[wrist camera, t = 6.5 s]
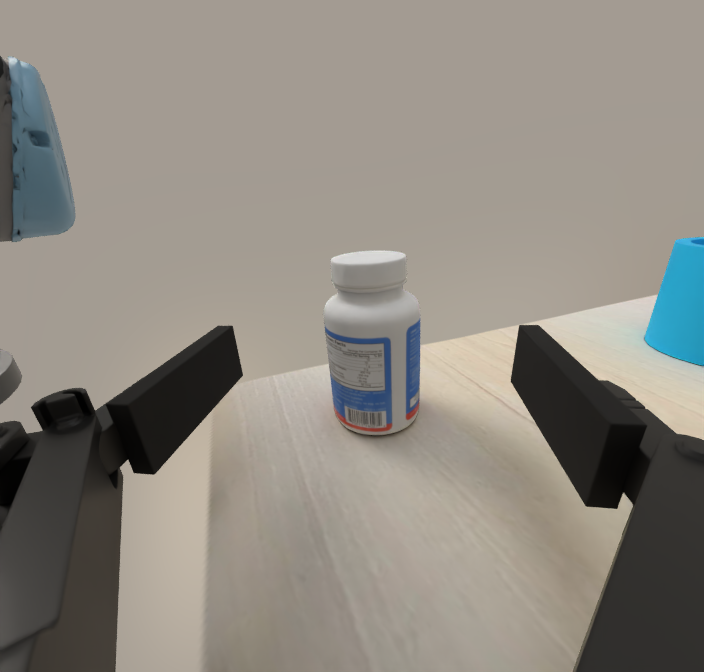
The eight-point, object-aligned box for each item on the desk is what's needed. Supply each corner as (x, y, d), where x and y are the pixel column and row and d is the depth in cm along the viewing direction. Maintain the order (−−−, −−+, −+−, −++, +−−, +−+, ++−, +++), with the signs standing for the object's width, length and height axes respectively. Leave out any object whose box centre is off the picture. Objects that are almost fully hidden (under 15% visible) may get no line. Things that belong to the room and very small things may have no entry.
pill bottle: (387, 380, 24) (385, 245, 20) (437, 418, 20) (446, 254, 16) (319, 403, 22) (303, 256, 18) (359, 452, 17) (347, 270, 14)
